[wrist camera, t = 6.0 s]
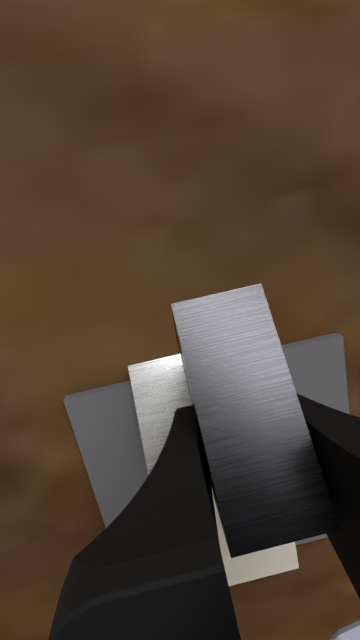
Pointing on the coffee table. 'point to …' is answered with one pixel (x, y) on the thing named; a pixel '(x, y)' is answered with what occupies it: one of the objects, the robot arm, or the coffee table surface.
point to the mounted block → (238, 420)
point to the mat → (124, 433)
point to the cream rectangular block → (255, 560)
